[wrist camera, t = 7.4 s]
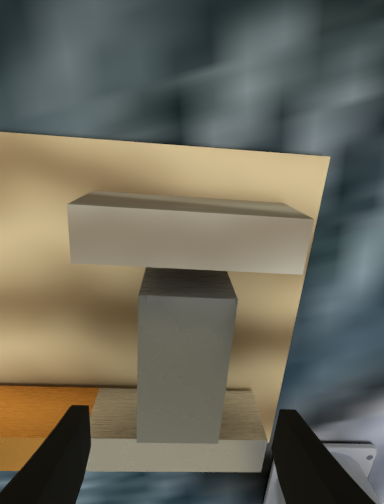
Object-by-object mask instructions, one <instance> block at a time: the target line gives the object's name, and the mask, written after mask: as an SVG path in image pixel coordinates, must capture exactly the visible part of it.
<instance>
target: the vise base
mask: <svg viewBox="0 0 384 504" xmlns="http://www.w3.org/2000/svg"><path fill="white" fill-rule="evenodd" d="M329 161H330V157H327V156H314V155H300V154H287V153H274V152H261V151H247V150H234V149H221V148H208V147H194V146H181V145H168V144H155V143H141V142H128V141H115V140H102V139H88V138H75V137H62V136H49V135H36V134H22V133H9V132H0V386H39V387H82V388H125V389H137V362H138V295H139V291H140V287H141V284H142V280H143V276H144V273H145V269H146V267H155V268H176V269H196V270H216V271H227V273H228V275H229V278H230V280H231V283H232V285H233V288H234V291H235V293H236V296H237V298H238V303H237V311H236V318H235V325H234V333H233V340H232V347H231V354H230V362H229V369H228V376H227V384H226V391H253V394H254V397H255V401H256V404H257V407H258V411H259V414H260V417H261V420H262V424H263V427H264V430H265V434H266V437H267V440H268V441H267V442H268V443H269V441H270V436H271V431H272V427H273V422H274V418H275V413H276V408H277V404H278V399H279V394H280V390H281V385H282V380H283V376H284V371H285V366H286V362H287V357H288V352H289V348H290V343H291V338H292V334H293V329H294V324H295V320H296V315H297V310H298V306H299V301H300V296H301V292H302V287H303V282H304V278H305V273H306V268H307V264H308V259H309V254H310V250H311V245H312V240H313V236H314V231H315V226H316V222H317V217H318V212H319V208H320V203H321V198H322V194H323V189H324V184H325V180H326V175H327V170H328V166H329Z"/></svg>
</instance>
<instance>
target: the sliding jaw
mask: <svg viewBox="0 0 384 504" xmlns="http://www.w3.org/2000/svg"><path fill="white" fill-rule="evenodd" d="M72 405H89V415H90V433H91V449H90V454H89V458H88V462H87V466H86V471H137V472H261V470H262V465H263V460H264V455H265V451H266V446H267V441H268V440H267V437H266V434H265V430H264V427H263V424H262V420H261V417H260V414H259V411H258V407H257V404H256V401H255V397H254V394H253V391H225V398H224V405H223V413H222V420H221V427H220V435H219V442H218V444H201V443H137V389H125V388H82V387H39V386H0V471H20V469H21V468H22V467H23V466H24V465H25V464H26V462H27V461H28V460H29V459H30V458H31V456H32V455H33V454H34V453H35V451H36V450H37V449H38V448H39V447H40V445H41V444H42V443H43V442H44V440H45V439H46V438H47V437H48V435H49V434H50V433H51V431H52V430H53V429H54V427H55V426H56V425H57V423H58V422H59V421H60V419H61V418H62V417H63V415H64V414H65V413H66V411H67V410H68V408H69V407H70V406H72Z"/></svg>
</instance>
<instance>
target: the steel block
mask: <svg viewBox="0 0 384 504" xmlns="http://www.w3.org/2000/svg"><path fill="white" fill-rule="evenodd" d="M237 303H238V298H237V296H236V293H235V291H234V288H233V285H232V283H231V280H230V278H229V275H228V273H227V271H216V270H196V269H176V268H155V267H146V269H145V273H144V276H143V280H142V284H141V287H140V291H139V295H138V362H137V443H201V444H218V442H219V435H220V427H221V420H222V413H223V405H224V398H225V391H226V384H227V376H228V369H229V362H230V354H231V347H232V340H233V333H234V325H235V318H236V311H237Z"/></svg>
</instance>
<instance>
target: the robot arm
mask: <svg viewBox="0 0 384 504" xmlns="http://www.w3.org/2000/svg"><path fill="white" fill-rule="evenodd" d="M90 449H91V433H90V415H89V405H72V406H70V407H69V408H68V410H67V411H66V413H65V414H64V415H63V417H62V418H61V419H60V421H59V422H58V423H57V425H56V426H55V427H54V429H53V430H52V431H51V433H50V434H49V435H48V437H47V438H46V439H45V440H44V442H43V443H42V444H41V445H40V447H39V448H38V449H37V450H36V451H35V453H34V454H33V455H32V456H31V458H30V459H29V460H28V461H27V462H26V464H25V465H24V466H23V467H22V468H21V469H20V471H19V472H18V473H17V474H16V475H15V476H14V477H13V478H12V480H11V481H10V482H9V483H8V484H7V485H6V486H5V487H4V489H3V490H2V491H1V492H0V504H75V503H76V500H77V497H78V494H79V491H80V488H81V485H82V482H83V479H84V475H85V471H86V466H87V462H88V458H89V454H90ZM271 449H272V453H273V458H274V459H273V463H272V467H271V472H270V476H269V481H268V485H267V489H266V494H265V498H264V503H263V504H381V502H380V500H379V499H378V497H377V495H376V493H375V492H374V490H373V488H372V486H371V485H370V483H369V481H368V479H367V477H368V475H369V472H370V470H371V467H372V464H373V462H374V459H375V457H376V454H377V449H376V448H375V446H374V445H373V444H330V443H322V442H321V441H320V440H319V438H318V437H317V436H316V435H315V433H314V432H313V431H312V430H311V428H310V427H309V426H308V425H307V423H306V422H305V421H304V420H303V418H302V417H301V416H300V415H299V413H298V412H297V411H296V410H286V409H280V411H279V416H278V420H277V425H276V430H275V434H274V439H273V443H272V448H271Z"/></svg>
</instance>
